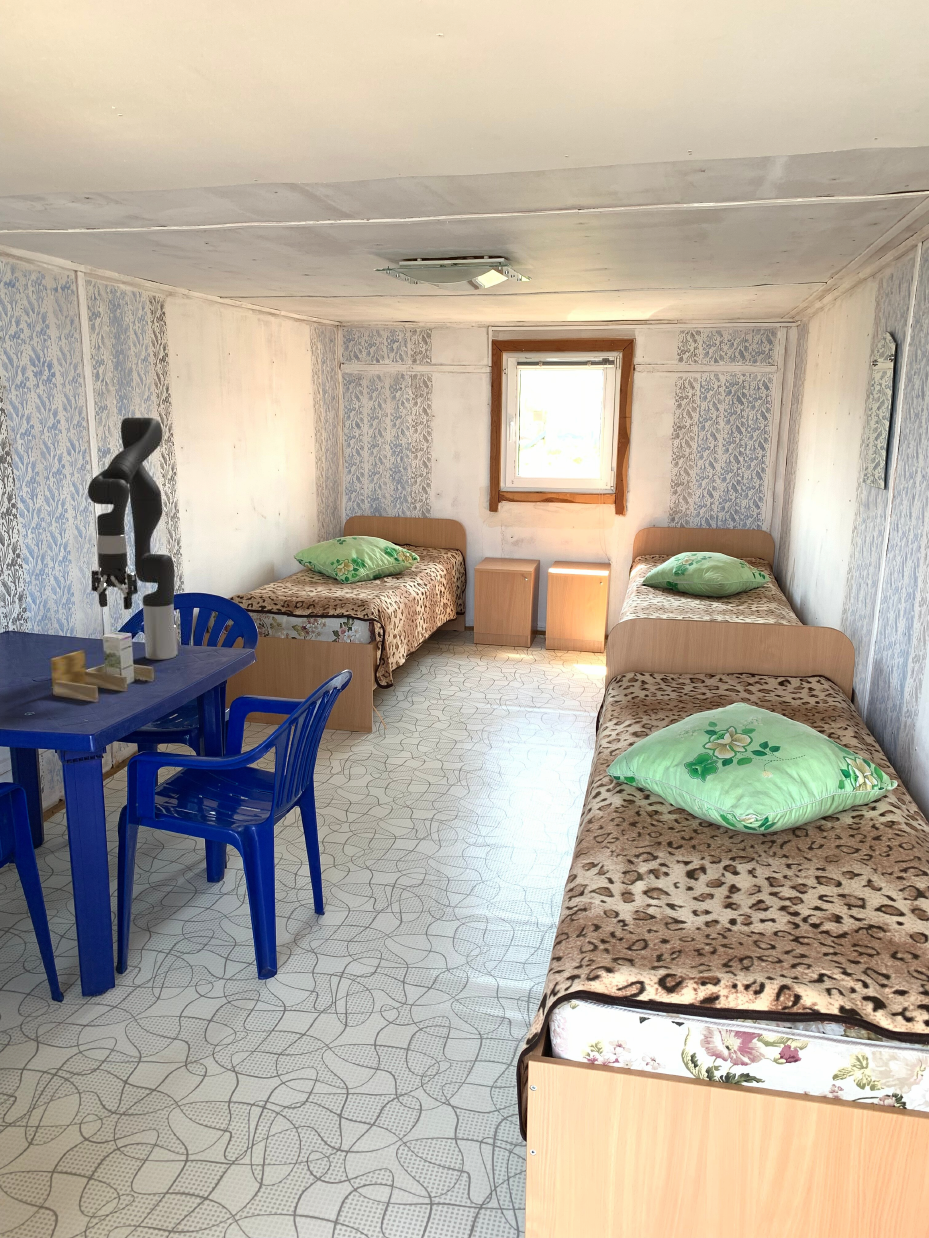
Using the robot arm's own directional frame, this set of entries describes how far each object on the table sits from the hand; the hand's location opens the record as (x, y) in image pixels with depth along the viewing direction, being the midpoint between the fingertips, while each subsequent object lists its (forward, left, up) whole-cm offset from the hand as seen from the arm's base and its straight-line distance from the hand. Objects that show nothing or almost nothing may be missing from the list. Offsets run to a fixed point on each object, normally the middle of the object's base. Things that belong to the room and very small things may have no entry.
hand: (115, 607), depth 251 cm
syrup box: (0, 0, -22) cm, 22 cm away
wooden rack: (+5, 0, -22) cm, 23 cm away
